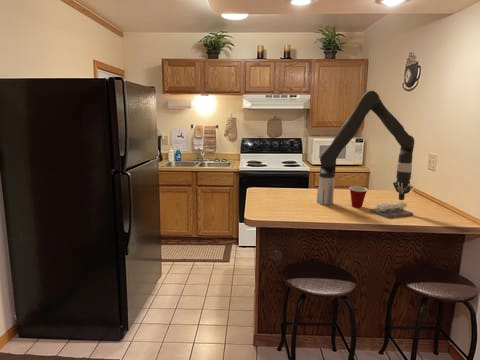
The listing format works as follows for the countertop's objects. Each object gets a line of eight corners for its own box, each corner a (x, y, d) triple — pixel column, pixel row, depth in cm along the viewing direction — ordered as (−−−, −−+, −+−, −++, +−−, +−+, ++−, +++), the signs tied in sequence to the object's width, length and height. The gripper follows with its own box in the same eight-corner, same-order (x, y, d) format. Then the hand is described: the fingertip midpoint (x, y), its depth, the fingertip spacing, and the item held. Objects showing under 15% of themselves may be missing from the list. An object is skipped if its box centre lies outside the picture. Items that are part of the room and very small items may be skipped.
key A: (382, 212, 190) (382, 205, 189) (376, 210, 194) (376, 203, 193) (388, 211, 191) (389, 204, 191) (382, 209, 196) (383, 202, 195)
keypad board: (387, 218, 186) (388, 211, 185) (369, 211, 199) (370, 204, 198) (412, 215, 192) (413, 208, 191) (394, 208, 205) (394, 202, 204)
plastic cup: (350, 209, 204) (351, 189, 201) (345, 204, 214) (347, 185, 212) (368, 209, 203) (370, 190, 201) (363, 204, 214) (364, 186, 211)
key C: (400, 210, 194) (400, 203, 193) (394, 208, 198) (394, 201, 198) (406, 209, 196) (407, 203, 195) (400, 207, 200) (400, 201, 199)
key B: (391, 211, 192) (391, 204, 191) (385, 209, 196) (385, 202, 195) (397, 210, 193) (398, 203, 193) (391, 208, 198) (392, 201, 197)
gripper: (390, 169, 197) (387, 197, 201) (408, 172, 185) (405, 203, 189) (400, 168, 200) (397, 196, 203) (418, 172, 188) (415, 202, 191)
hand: (401, 199), depth 196 cm, fingers closed
